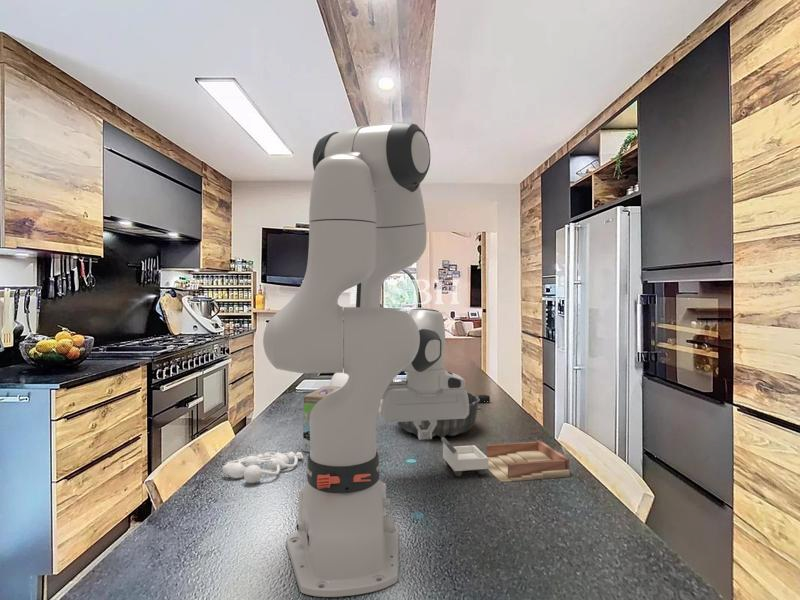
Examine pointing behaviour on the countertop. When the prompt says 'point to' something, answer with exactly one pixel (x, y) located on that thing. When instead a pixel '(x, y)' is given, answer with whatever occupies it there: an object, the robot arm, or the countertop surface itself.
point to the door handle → (482, 399)
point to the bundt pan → (448, 422)
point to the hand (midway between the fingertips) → (424, 438)
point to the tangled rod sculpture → (253, 471)
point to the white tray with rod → (464, 458)
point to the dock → (526, 461)
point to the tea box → (308, 406)
